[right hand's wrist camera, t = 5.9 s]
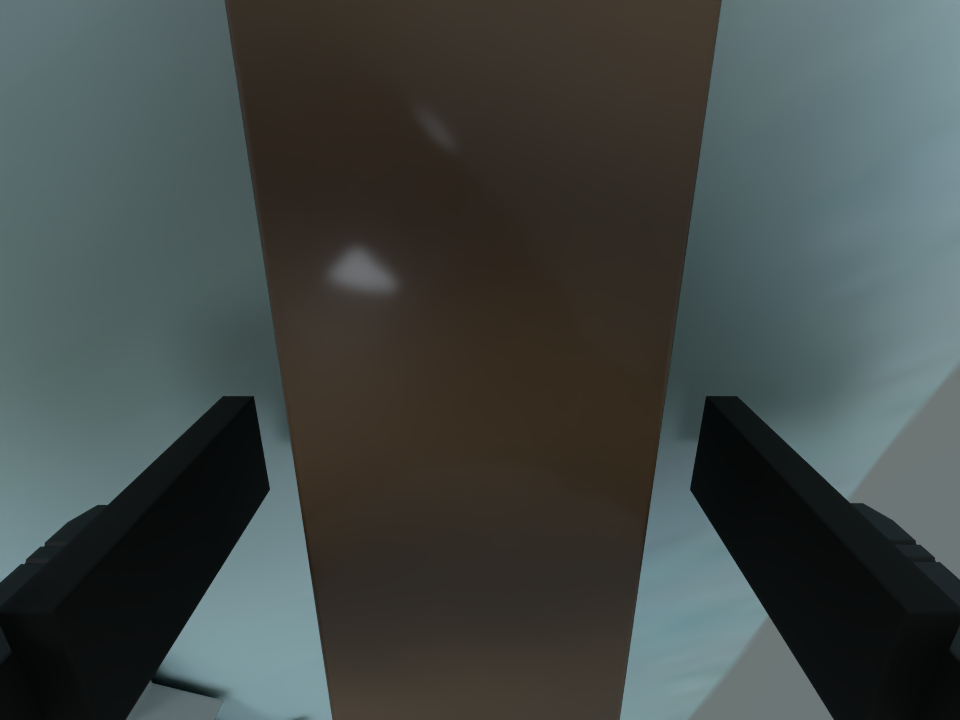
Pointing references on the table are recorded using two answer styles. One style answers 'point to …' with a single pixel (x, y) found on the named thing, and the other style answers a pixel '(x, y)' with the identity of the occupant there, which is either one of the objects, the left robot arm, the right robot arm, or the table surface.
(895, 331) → the table surface
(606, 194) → the bar
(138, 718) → the decorative wreath
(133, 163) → the table surface
